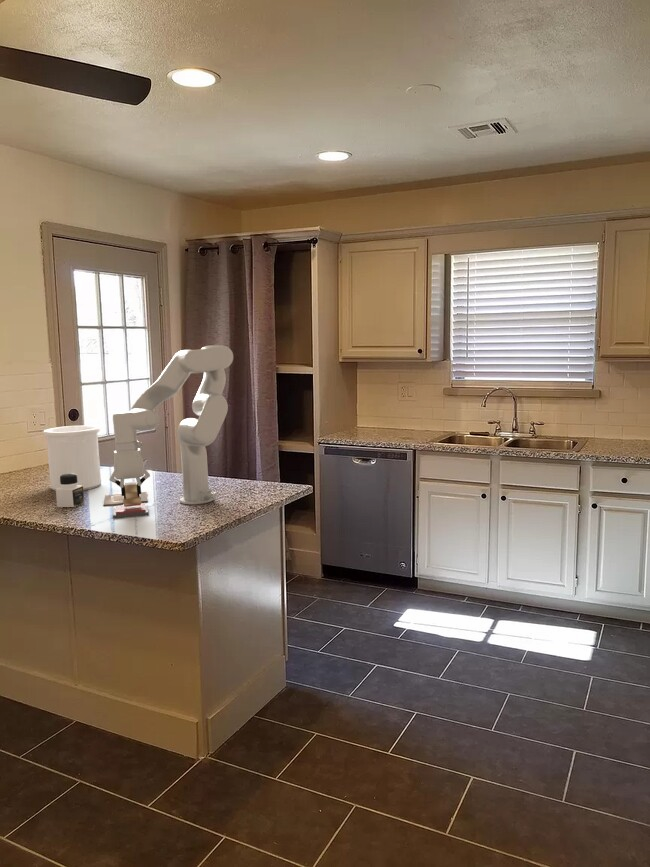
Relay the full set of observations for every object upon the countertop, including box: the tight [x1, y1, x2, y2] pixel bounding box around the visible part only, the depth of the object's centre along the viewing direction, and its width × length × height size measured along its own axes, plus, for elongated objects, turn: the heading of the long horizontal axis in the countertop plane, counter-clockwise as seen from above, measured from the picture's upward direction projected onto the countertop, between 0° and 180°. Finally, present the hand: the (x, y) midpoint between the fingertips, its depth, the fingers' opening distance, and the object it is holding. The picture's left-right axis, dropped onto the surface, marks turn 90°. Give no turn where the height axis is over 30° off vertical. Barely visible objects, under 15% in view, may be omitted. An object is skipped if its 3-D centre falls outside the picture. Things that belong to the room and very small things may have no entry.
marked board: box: [103, 491, 149, 507], centre depth 264 cm, size 16×16×1 cm
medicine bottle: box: [55, 474, 85, 508], centre depth 256 cm, size 7×7×12 cm
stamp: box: [123, 481, 142, 507], centre depth 242 cm, size 6×6×8 cm
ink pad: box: [112, 503, 150, 519], centre depth 242 cm, size 12×10×2 cm
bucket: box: [42, 424, 102, 492], centre depth 287 cm, size 26×22×25 cm
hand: (131, 496), depth 242 cm, fingers closed on stamp, 4 cm apart
